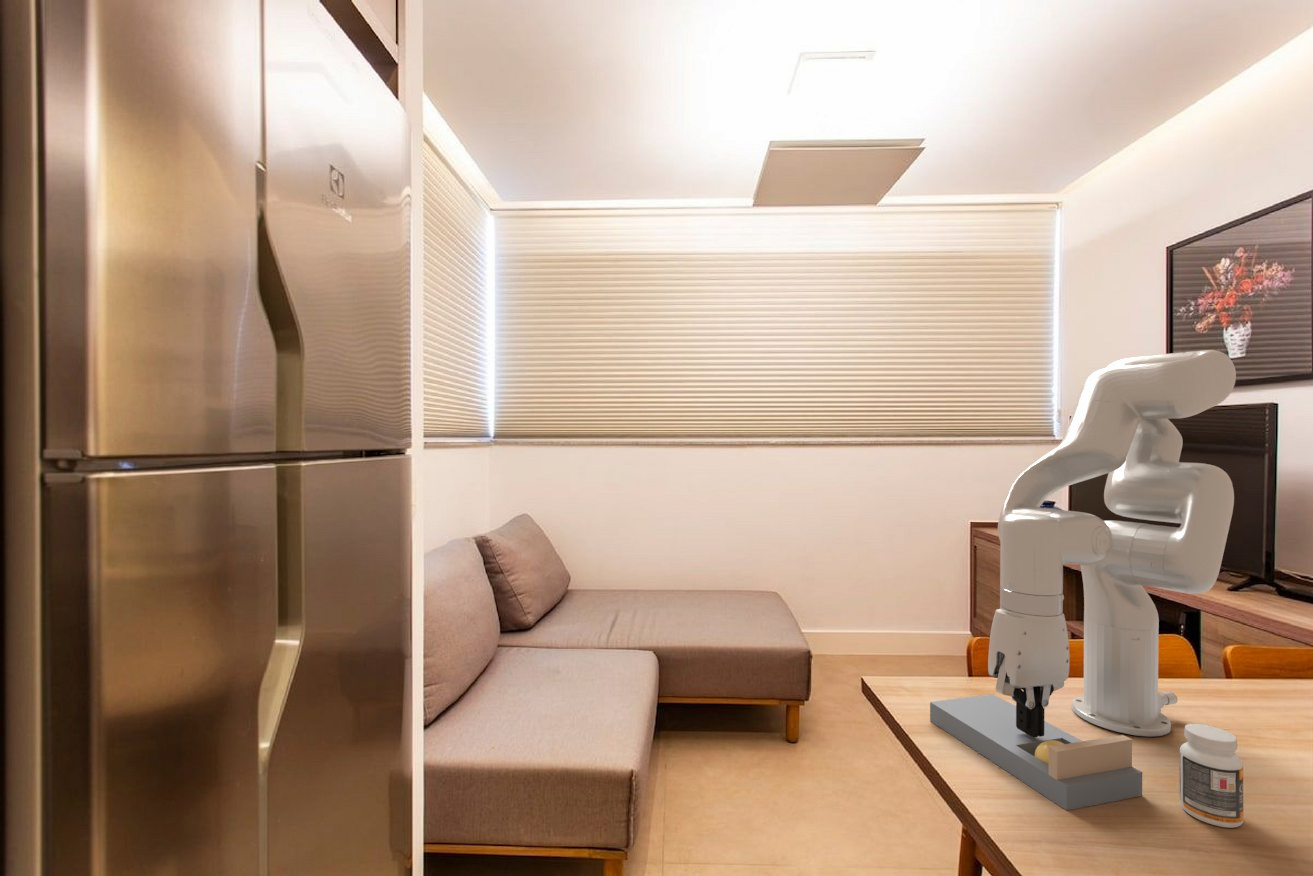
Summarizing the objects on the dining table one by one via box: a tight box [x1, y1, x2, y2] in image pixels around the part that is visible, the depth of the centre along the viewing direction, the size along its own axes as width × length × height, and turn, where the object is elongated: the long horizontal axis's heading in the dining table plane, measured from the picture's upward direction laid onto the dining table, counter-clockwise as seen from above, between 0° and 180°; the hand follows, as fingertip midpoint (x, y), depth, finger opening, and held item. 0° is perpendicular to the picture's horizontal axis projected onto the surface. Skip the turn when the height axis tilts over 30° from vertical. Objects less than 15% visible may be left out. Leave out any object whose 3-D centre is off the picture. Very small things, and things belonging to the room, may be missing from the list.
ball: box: [1035, 740, 1064, 765], centre depth 81 cm, size 5×5×5 cm
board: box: [929, 693, 1143, 811], centre depth 87 cm, size 12×24×6 cm, turn 15°
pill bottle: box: [1179, 723, 1244, 829], centre depth 73 cm, size 6×6×10 cm
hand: (1029, 732), depth 86 cm, fingers closed
